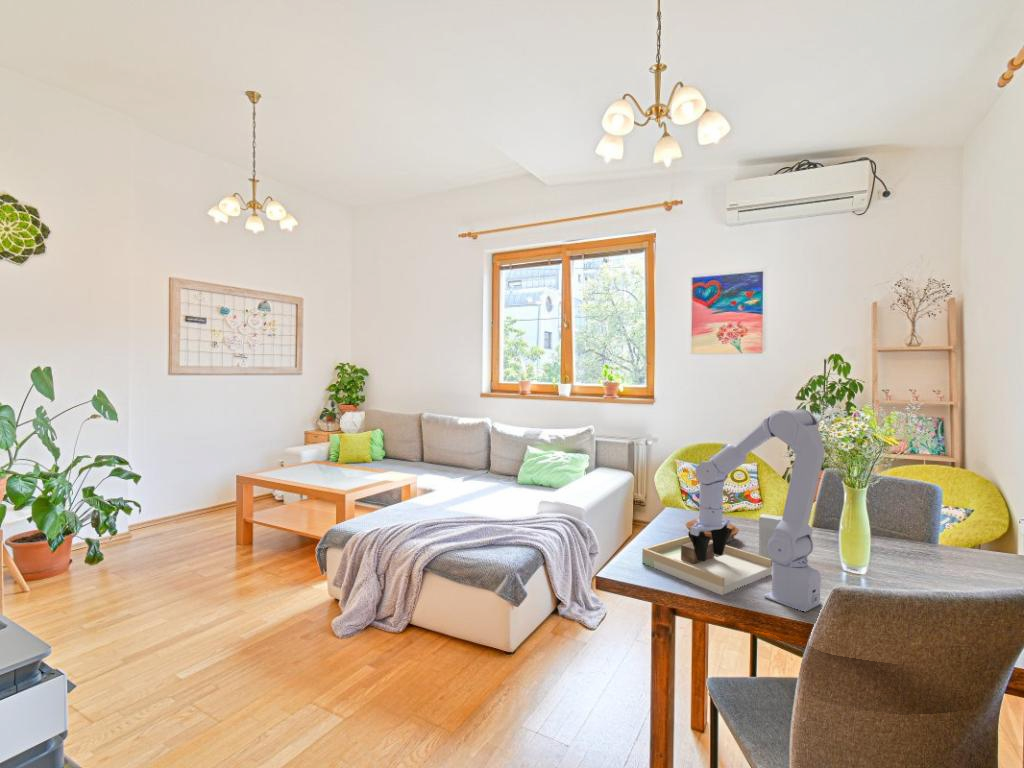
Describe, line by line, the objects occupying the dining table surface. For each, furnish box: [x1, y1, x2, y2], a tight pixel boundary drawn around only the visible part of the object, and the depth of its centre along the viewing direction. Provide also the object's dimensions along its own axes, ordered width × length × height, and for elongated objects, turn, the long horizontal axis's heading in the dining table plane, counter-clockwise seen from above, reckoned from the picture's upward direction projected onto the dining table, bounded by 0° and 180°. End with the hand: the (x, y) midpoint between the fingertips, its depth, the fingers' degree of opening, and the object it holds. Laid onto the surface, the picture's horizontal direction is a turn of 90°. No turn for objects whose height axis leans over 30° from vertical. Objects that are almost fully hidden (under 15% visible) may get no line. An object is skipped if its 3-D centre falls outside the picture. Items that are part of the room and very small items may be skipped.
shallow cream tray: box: [641, 535, 772, 596], centre depth 138 cm, size 24×22×4 cm
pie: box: [685, 518, 740, 544], centre depth 163 cm, size 15×16×5 cm
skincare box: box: [758, 513, 783, 559], centre depth 145 cm, size 6×4×12 cm
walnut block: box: [681, 541, 714, 564], centre depth 140 cm, size 4×9×4 cm, turn 125°
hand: (709, 557), depth 137 cm, fingers open, 7 cm apart
